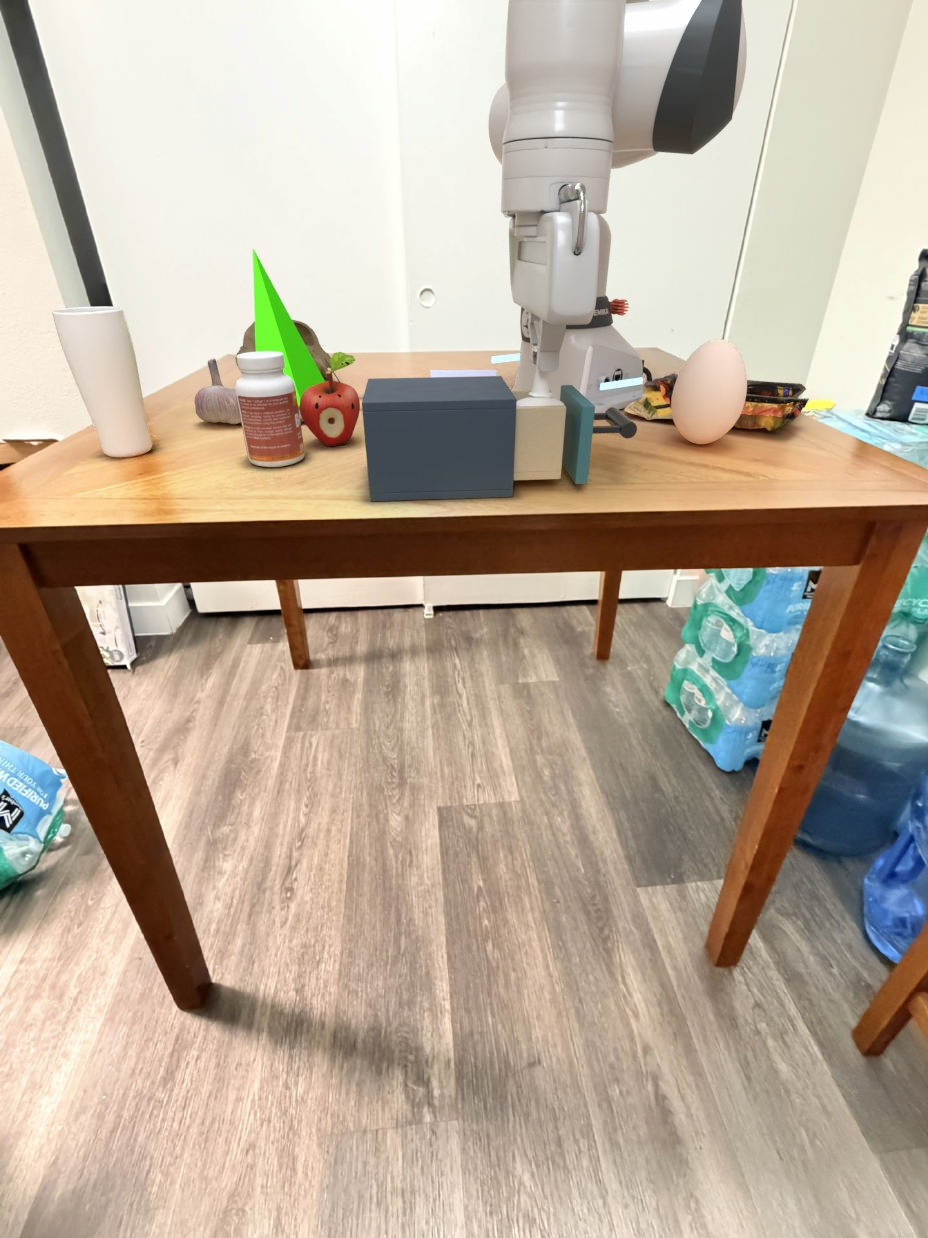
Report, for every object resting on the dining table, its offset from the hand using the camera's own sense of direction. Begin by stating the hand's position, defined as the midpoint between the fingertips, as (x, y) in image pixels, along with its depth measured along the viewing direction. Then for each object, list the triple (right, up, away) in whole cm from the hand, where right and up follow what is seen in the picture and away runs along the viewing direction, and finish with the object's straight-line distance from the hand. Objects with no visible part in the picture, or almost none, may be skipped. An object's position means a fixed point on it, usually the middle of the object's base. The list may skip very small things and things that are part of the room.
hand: (543, 367), depth 59 cm
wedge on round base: (-10, +2, +25) cm, 27 cm away
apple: (-23, -3, +17) cm, 29 cm away
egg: (+21, -3, +16) cm, 26 cm away
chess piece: (0, -4, +2) cm, 4 cm away
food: (+27, +7, +25) cm, 37 cm away
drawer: (0, -8, +5) cm, 10 cm away
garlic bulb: (-39, +2, +25) cm, 47 cm away
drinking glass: (-47, -4, +14) cm, 49 cm away
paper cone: (-37, +27, +27) cm, 53 cm away
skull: (-34, +12, +43) cm, 57 cm away
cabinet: (-10, -10, +5) cm, 15 cm away
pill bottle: (-28, -6, +11) cm, 31 cm away
